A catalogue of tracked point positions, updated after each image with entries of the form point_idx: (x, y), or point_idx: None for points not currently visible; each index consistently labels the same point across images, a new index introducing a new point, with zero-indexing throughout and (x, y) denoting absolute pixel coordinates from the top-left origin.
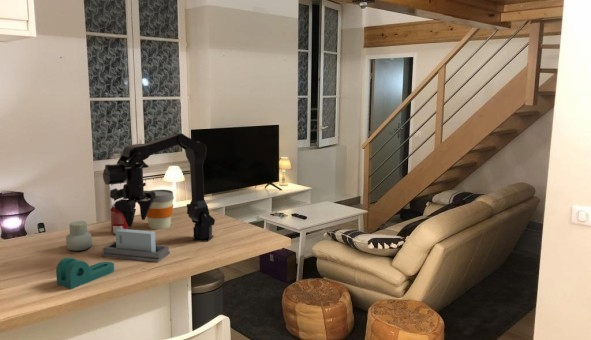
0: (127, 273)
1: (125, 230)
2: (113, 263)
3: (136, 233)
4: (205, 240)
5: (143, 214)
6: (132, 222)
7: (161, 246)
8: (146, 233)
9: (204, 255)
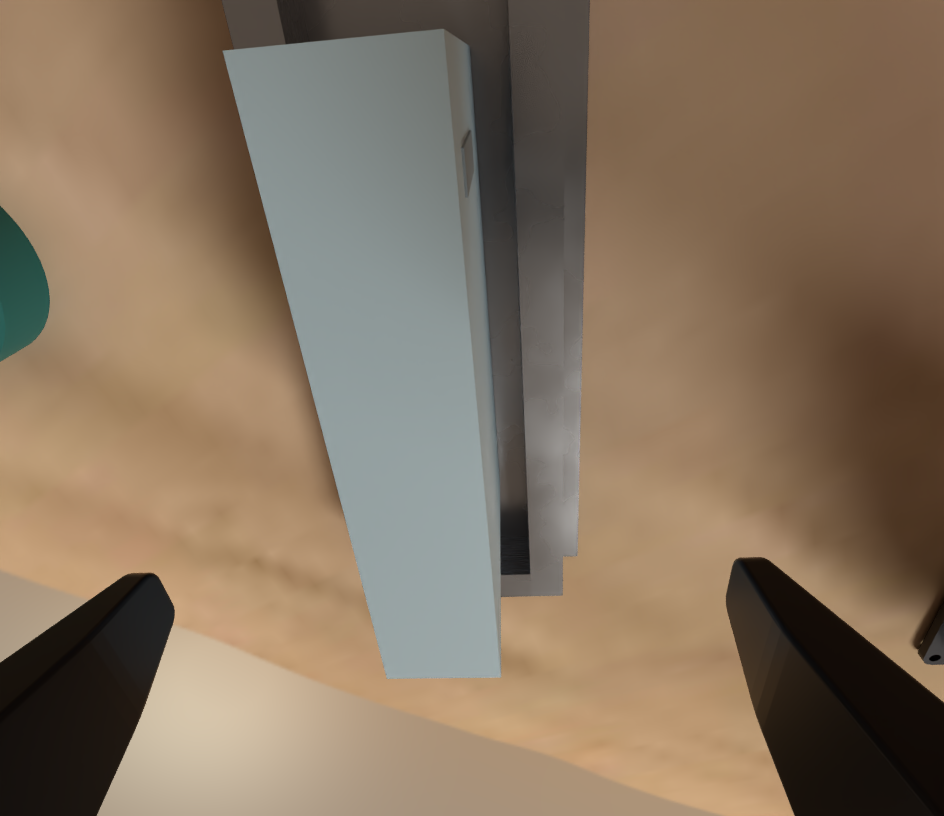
0: (70, 467)
1: (370, 272)
2: (2, 344)
3: (349, 508)
4: (925, 648)
5: (793, 722)
6: (109, 740)
7: (546, 548)
8: (383, 634)
9: (601, 710)
